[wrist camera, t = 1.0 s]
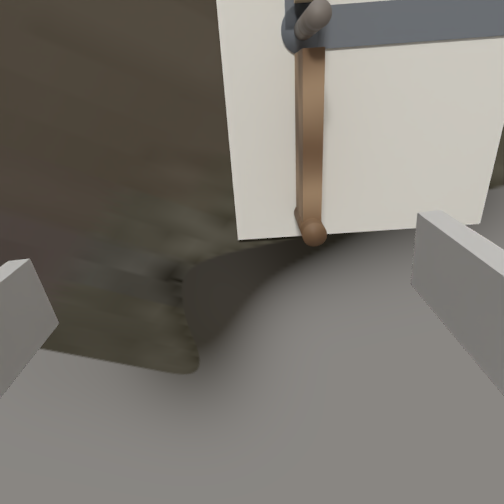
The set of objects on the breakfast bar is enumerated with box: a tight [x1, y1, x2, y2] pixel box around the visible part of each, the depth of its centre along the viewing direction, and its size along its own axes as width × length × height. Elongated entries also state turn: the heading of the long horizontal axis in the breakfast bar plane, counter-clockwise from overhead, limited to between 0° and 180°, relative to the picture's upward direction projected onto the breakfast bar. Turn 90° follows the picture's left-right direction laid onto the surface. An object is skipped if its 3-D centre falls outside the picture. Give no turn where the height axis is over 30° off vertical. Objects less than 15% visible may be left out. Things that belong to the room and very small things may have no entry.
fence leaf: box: [294, 47, 327, 246], centre depth 25 cm, size 13×2×5 cm, turn 4°
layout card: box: [216, 0, 504, 240], centre depth 25 cm, size 22×28×1 cm
